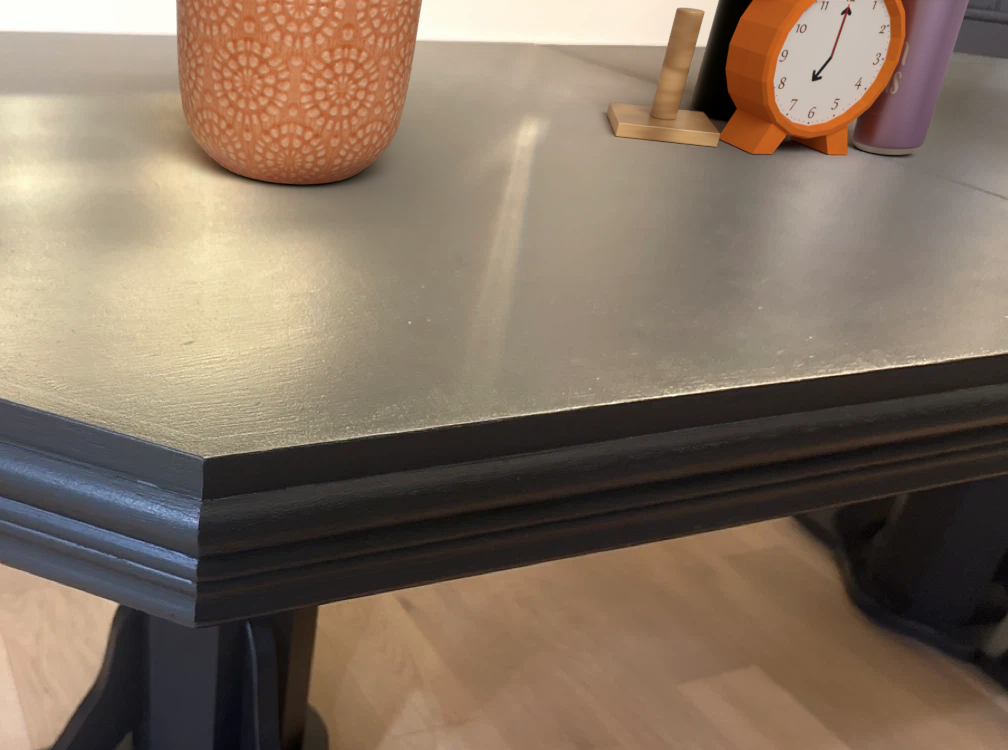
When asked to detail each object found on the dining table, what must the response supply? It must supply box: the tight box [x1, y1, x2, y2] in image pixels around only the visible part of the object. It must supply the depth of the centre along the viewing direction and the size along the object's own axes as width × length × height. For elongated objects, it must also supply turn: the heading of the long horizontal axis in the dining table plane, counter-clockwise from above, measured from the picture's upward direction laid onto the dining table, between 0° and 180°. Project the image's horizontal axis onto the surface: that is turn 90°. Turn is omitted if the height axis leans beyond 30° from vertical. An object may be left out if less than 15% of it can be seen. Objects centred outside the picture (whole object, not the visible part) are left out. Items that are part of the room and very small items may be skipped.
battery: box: [690, 0, 753, 120], centre depth 99 cm, size 7×7×20 cm
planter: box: [175, 0, 423, 185], centre depth 73 cm, size 17×17×15 cm
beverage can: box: [851, 0, 970, 156], centre depth 91 cm, size 6×6×15 cm
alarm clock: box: [719, 0, 905, 156], centre depth 88 cm, size 13×6×20 cm, turn 104°
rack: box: [606, 7, 721, 148], centre depth 93 cm, size 9×9×10 cm
